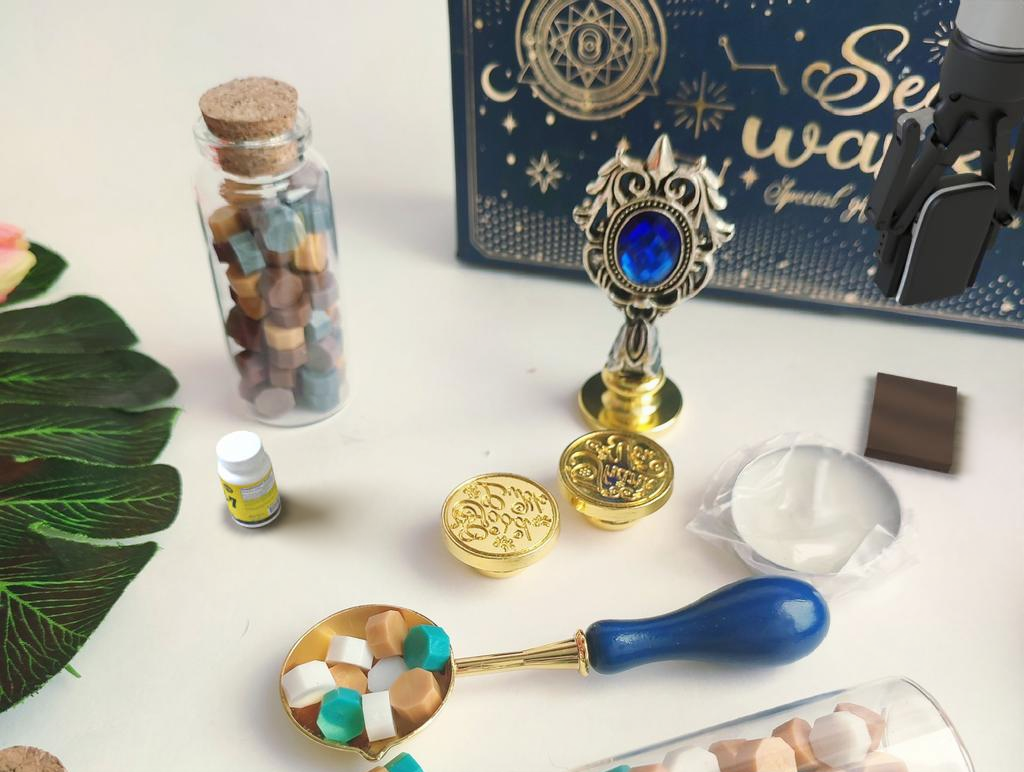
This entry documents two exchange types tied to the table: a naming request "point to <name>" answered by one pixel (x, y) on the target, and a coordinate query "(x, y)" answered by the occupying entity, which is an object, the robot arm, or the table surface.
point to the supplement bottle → (248, 479)
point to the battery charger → (946, 239)
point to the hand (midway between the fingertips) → (923, 283)
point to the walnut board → (912, 422)
